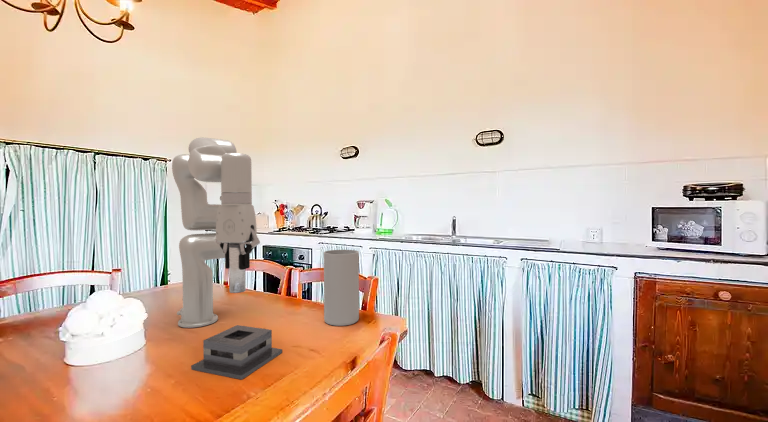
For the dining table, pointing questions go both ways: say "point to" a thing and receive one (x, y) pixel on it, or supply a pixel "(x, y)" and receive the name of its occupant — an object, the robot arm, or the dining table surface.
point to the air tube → (236, 270)
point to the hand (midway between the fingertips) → (237, 267)
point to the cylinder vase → (341, 287)
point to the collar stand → (237, 352)
